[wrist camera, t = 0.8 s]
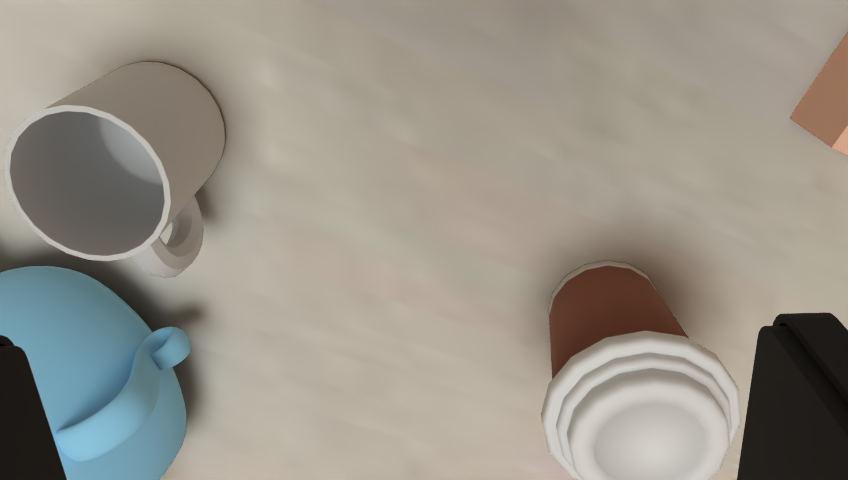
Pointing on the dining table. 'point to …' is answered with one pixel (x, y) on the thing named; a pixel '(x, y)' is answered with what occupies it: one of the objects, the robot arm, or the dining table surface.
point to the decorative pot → (97, 373)
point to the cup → (119, 167)
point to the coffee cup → (632, 384)
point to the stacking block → (828, 102)
